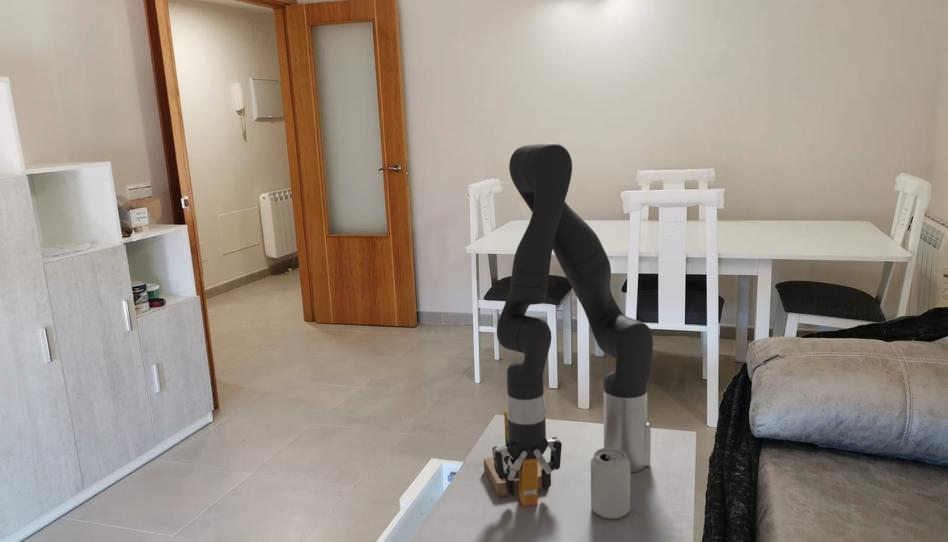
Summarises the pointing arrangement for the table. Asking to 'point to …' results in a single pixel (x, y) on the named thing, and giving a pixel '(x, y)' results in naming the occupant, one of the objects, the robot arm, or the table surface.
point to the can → (610, 483)
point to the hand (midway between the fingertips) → (528, 491)
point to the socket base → (500, 484)
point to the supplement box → (528, 482)
